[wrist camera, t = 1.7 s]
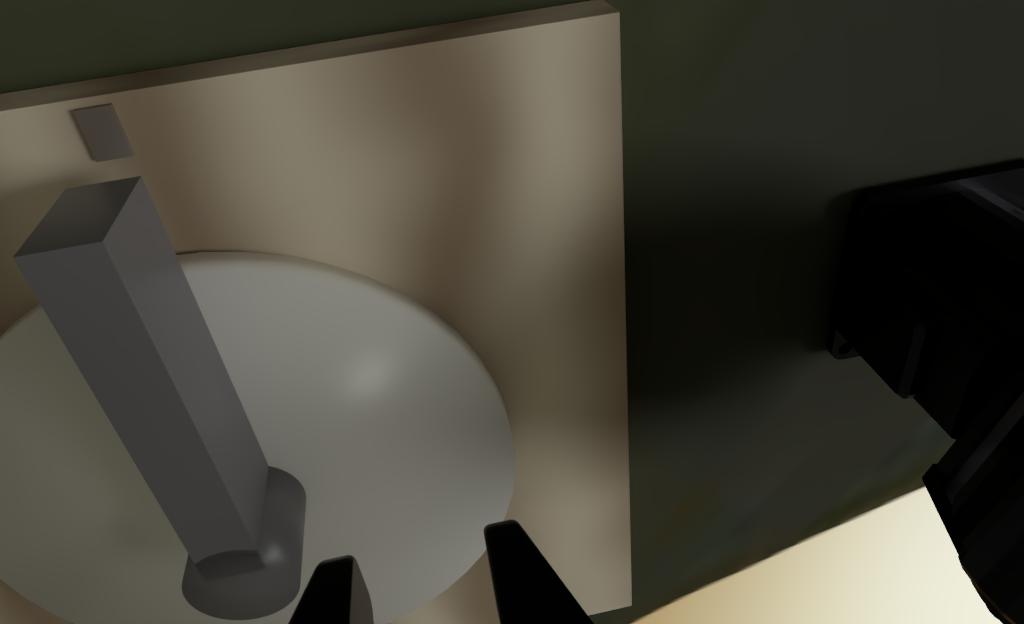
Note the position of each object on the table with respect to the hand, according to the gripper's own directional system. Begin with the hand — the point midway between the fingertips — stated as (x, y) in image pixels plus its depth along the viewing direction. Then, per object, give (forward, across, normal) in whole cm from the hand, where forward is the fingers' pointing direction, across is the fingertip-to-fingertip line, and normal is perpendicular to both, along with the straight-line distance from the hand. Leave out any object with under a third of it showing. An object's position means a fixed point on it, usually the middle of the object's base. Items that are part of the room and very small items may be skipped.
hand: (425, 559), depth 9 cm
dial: (+11, +6, +8) cm, 15 cm away
